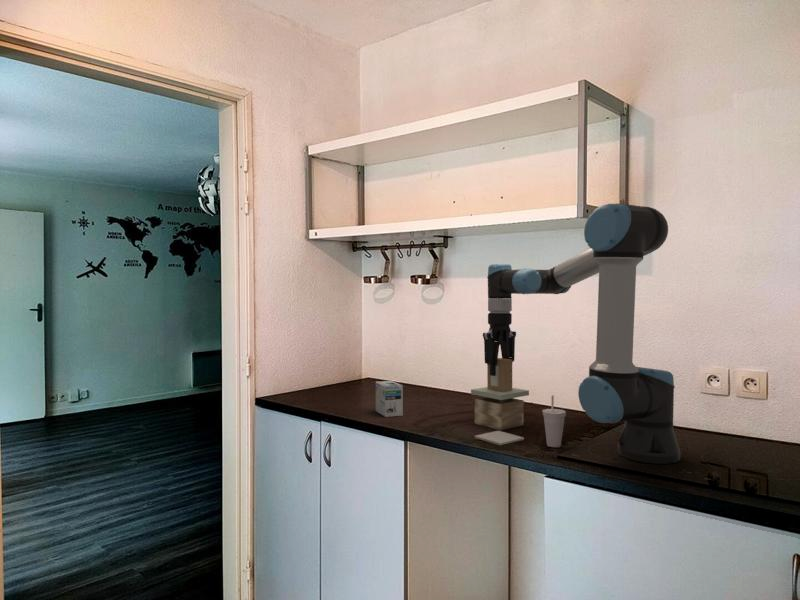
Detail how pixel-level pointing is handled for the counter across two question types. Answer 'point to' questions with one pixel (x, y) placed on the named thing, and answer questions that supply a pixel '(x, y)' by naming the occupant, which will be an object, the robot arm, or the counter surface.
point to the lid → (501, 383)
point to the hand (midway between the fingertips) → (499, 384)
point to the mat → (499, 437)
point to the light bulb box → (389, 398)
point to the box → (499, 413)
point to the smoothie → (554, 425)
